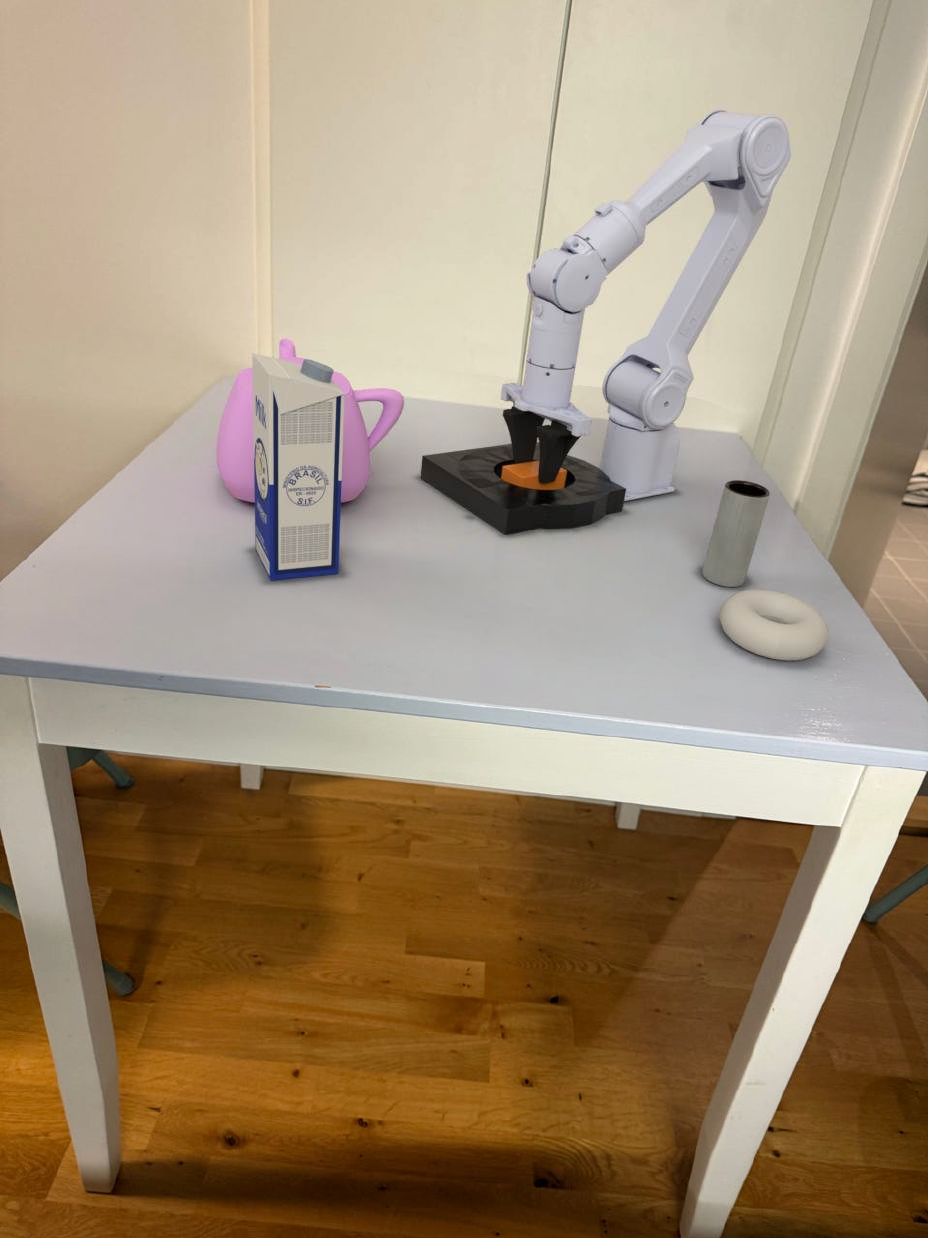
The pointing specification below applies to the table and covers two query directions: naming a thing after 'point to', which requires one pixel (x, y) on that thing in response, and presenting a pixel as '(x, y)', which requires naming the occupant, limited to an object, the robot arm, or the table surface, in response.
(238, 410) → the teapot
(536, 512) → the square plate with hole
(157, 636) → the table surface
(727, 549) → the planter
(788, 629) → the donut
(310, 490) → the milk carton
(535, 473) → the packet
